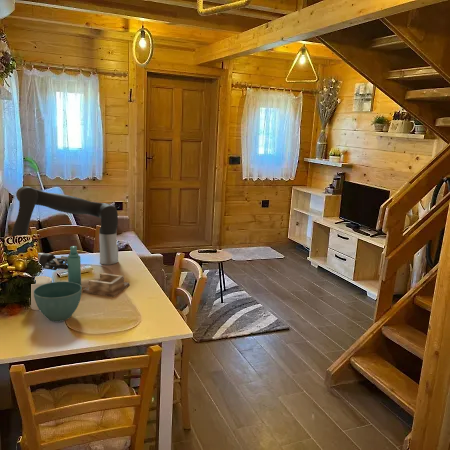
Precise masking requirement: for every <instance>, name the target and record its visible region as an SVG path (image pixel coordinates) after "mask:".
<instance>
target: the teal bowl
mask: <svg viewBox="0 0 450 450" xmlns="http://www.w3.org/2000/svg"><path fill="white" fill-rule="evenodd" d="M82 293H83V289H82V284H81V285H79V284H77V283H73V282H68V281H54V282H53V281H52V283H48V284H44V285H41V286H39V287H37V288H36V289H35V290H34V298H35V301H36V304H37V306H38V308H39V310H38V311H40V313H41V314H42V315H43V316H44V317H45V318H46V319H47V320H48V321H50V322H55V323H56V322H64V321H67V320H68V318H69V319H70V318H71V317H72V316H73V315H74V313H75V311H76V310H77V308H78V306H79V304H80V301H81V296H82ZM66 319H67V320H66Z"/></svg>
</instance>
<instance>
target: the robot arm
mask: <svg viewBox="0 0 450 450" xmlns="http://www.w3.org/2000/svg"><path fill="white" fill-rule="evenodd" d="M16 198H17V201H18V202H19V203H18V205H19V207H18V212H17V216H16V220H15V221H14V225H13V228H12V231H11V235H10V237H11V236H16V235H27V236H28V232H29V227H30V221H31V218H32V216H33V212H34V210H35V206H43V207H44V208H45V207H46V208H48V209H51V210H55V211H58V212H61V213H65V214H69V215H70V214H71V215H89V216H93V217H96V218H99V219H100V227H99V231H98V232H99V264H101V265H104V266H105V265H106V266H107V265H115V264H116V263H118V262H119V245H117V237H118V236H117V230H118V226H119V225H118V224H119V223H118V221H119V219H118V218H119V217H118V216H119V215H118V210H117V208H116V207H115V206H114V205H111V204H110V203H104V202H95V201H89V200H87V199H84V198H80V197H77V196H72V195H68V194H63V193H55V192H48V191H43V190H39V189H36V188H34V187H32V186H21V187H20V188H18V189H17V191H16ZM37 253H38V258H39V263H40V264H41V265H42V266H43V269H44V270H50V271H51V270H52V271H57V270H68V265H67V257H68V256H64V255H61V256H60V257H56V256H55V255H54V254H52V253H45V252H37Z"/></svg>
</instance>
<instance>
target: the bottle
mask: <svg viewBox="0 0 450 450" xmlns="http://www.w3.org/2000/svg"><path fill="white" fill-rule="evenodd" d="M69 249H70V250H69V253H68V256H67V264H66V265H68V269H67V282H73V283H77V284H79V285H81V286H82V271H81V270H82V269H81V267H82V266H81V265H82V264H81V256H80V255H79V252H78V247H77V245H72V246H70V247H69Z"/></svg>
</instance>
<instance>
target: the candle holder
mask: <svg viewBox="0 0 450 450" xmlns="http://www.w3.org/2000/svg"><path fill="white" fill-rule="evenodd" d="M34 277H35V280H36V284H31V305H30V304H29V305H30V306H29V307H30V309H32V310H33V311H40V310H39V308H38V306H37V304H36V301H35V298H34V290H35V289H36V288H37V287H39V286H41V285H44V284H48V283H53V278H52V277H51V276H46V275H45V276H43V275H42V276H34Z"/></svg>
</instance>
